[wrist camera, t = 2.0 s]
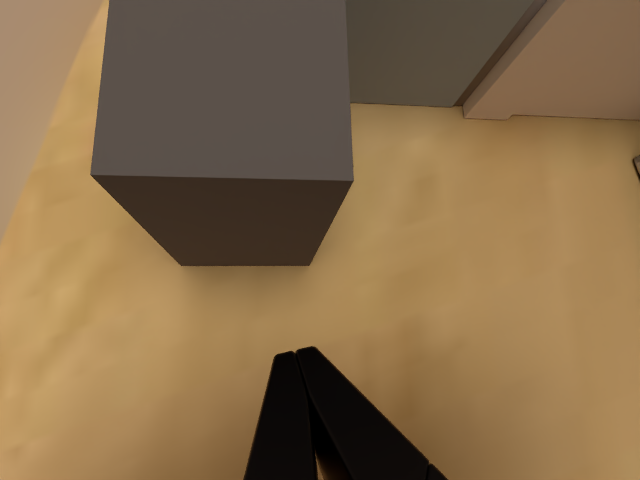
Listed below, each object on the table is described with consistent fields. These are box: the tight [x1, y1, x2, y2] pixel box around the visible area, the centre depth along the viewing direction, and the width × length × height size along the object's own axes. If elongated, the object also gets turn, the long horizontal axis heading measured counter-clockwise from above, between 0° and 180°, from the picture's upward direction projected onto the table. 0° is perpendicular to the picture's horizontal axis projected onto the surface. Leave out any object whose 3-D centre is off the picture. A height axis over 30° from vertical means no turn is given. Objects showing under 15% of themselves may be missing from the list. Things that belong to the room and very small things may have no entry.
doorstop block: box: [90, 0, 354, 266], centre depth 16 cm, size 7×6×11 cm
